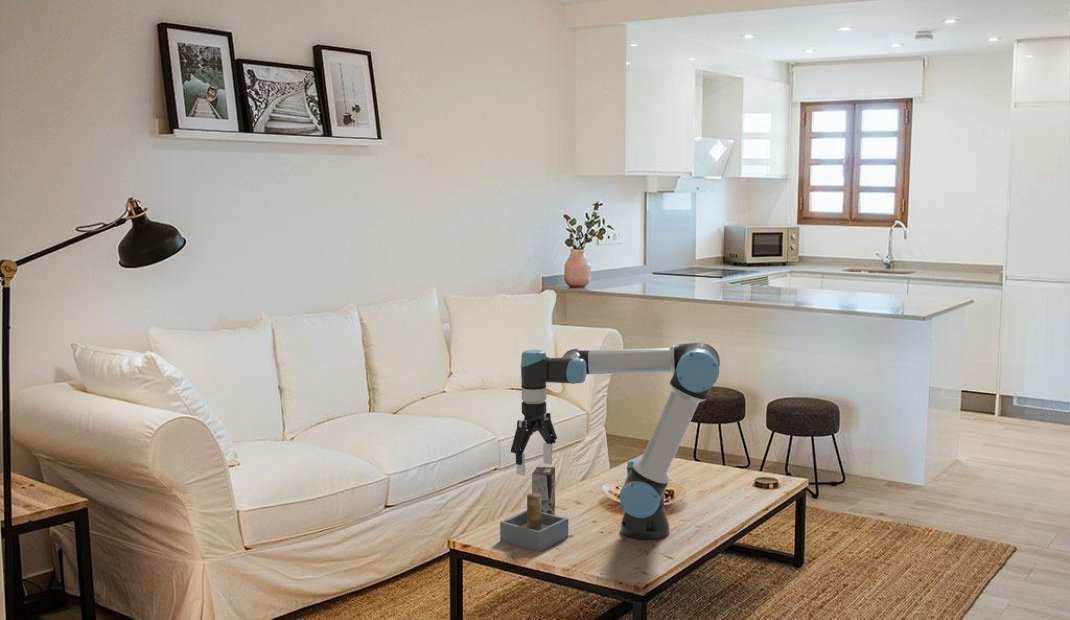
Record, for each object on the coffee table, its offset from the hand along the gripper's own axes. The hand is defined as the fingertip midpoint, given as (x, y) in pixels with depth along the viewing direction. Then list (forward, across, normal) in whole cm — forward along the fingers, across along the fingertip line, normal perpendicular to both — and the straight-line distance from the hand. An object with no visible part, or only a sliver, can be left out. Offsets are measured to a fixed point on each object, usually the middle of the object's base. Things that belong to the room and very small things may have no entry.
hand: (534, 469), depth 308 cm
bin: (+22, 0, 0) cm, 22 cm away
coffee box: (+22, -17, -9) cm, 30 cm away
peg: (+22, 0, 0) cm, 22 cm away
